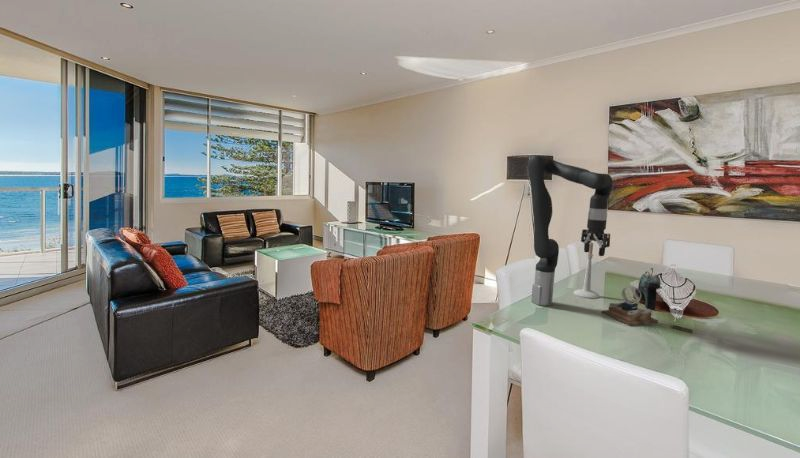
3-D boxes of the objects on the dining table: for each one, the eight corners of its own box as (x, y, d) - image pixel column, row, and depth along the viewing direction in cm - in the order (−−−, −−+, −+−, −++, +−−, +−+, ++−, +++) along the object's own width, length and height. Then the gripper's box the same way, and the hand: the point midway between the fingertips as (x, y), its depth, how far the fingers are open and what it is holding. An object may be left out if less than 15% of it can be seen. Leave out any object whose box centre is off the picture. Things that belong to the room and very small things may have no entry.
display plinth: (630, 326, 166) (631, 314, 165) (601, 313, 181) (602, 302, 181) (657, 322, 171) (659, 311, 170) (627, 310, 186) (628, 299, 185)
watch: (635, 313, 170) (638, 290, 169) (617, 308, 177) (620, 285, 176) (641, 311, 174) (644, 288, 172) (623, 306, 180) (626, 283, 179)
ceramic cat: (658, 311, 185) (663, 272, 182) (643, 310, 187) (648, 270, 184) (646, 299, 204) (651, 263, 201) (633, 297, 206) (637, 262, 203)
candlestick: (568, 291, 215) (573, 239, 210) (590, 291, 216) (595, 239, 212) (582, 298, 202) (587, 243, 198) (604, 298, 204) (610, 244, 199)
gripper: (617, 220, 163) (613, 257, 165) (591, 216, 177) (588, 250, 179) (603, 220, 161) (599, 257, 163) (578, 216, 174) (575, 251, 177)
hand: (593, 254), depth 171 cm, fingers open, 8 cm apart
